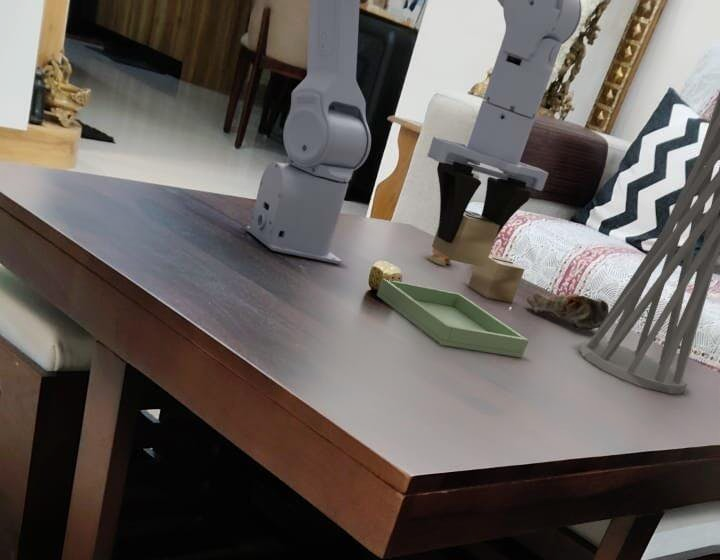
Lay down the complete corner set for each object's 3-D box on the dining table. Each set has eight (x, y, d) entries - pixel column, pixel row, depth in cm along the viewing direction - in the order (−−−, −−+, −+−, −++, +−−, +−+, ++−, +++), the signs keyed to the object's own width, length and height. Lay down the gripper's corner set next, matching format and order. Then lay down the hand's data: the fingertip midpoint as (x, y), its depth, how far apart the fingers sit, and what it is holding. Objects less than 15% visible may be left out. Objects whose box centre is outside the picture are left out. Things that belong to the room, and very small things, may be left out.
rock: (607, 335, 134) (552, 292, 137) (628, 298, 130) (571, 255, 133) (572, 352, 129) (516, 307, 132) (593, 314, 125) (534, 269, 127)
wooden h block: (453, 260, 106) (468, 216, 104) (431, 246, 109) (445, 203, 107) (485, 267, 109) (500, 224, 107) (463, 253, 112) (477, 212, 109)
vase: (571, 337, 125) (703, 27, 107) (667, 369, 127) (813, 70, 109) (590, 369, 114) (741, 28, 96) (695, 404, 116) (863, 76, 98)
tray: (441, 345, 102) (447, 326, 101) (376, 295, 112) (381, 277, 111) (521, 357, 108) (529, 340, 107) (454, 309, 118) (459, 293, 117)
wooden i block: (486, 297, 130) (499, 262, 127) (467, 285, 133) (480, 251, 130) (512, 302, 132) (525, 268, 130) (493, 290, 135) (506, 257, 133)
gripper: (475, 100, 95) (428, 243, 102) (582, 136, 103) (532, 267, 110) (437, 84, 99) (394, 222, 106) (543, 120, 107) (497, 246, 114)
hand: (462, 244), depth 108 cm, fingers closed on wooden h block, 4 cm apart
